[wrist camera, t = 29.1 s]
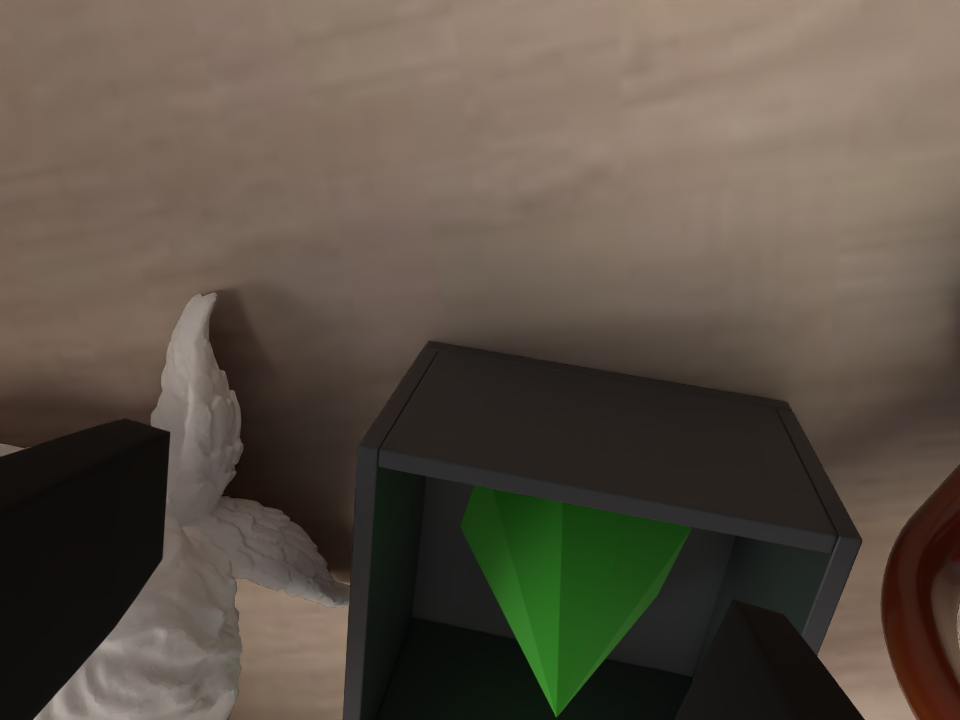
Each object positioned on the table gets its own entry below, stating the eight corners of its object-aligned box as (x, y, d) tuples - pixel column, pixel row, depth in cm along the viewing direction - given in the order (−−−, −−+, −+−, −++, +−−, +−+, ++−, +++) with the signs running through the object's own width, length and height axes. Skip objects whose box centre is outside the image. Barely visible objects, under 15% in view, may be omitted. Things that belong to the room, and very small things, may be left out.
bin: (402, 612, 21) (338, 779, 16) (427, 340, 18) (356, 444, 13) (701, 676, 20) (731, 874, 15) (788, 401, 17) (864, 540, 12)
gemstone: (691, 623, 19) (723, 844, 14) (472, 615, 20) (421, 817, 15) (691, 422, 17) (730, 588, 12) (446, 426, 18) (375, 581, 13)
